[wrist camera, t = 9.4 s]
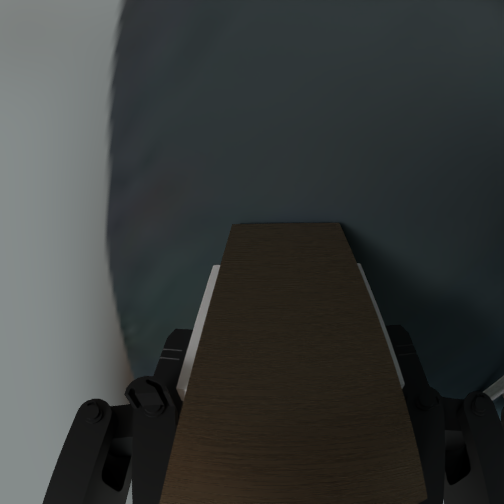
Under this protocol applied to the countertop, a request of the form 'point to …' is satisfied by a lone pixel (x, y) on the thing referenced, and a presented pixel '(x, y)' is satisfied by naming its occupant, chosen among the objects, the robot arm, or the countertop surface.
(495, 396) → the caliper
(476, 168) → the countertop surface
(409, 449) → the brown block grey strip
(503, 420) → the alarm clock
